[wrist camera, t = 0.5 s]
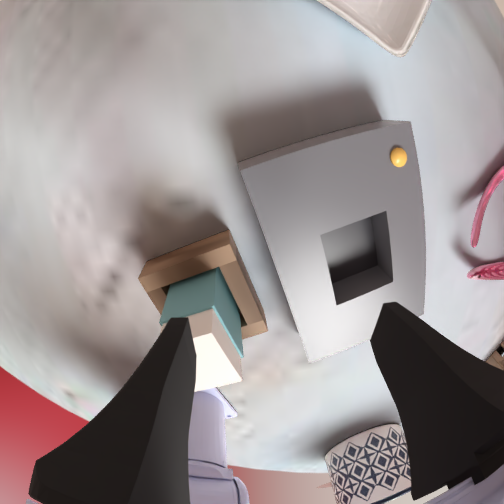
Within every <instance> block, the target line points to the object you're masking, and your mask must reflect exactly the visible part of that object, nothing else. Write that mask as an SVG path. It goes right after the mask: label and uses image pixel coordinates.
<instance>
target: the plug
mask: <svg viewBox="0 0 504 504" xmlns="http://www.w3.org/2000/svg"><path fill="white" fill-rule="evenodd" d="M171 317H188V318H189V323H190V328H191V333H192V337H193V342H194V346H195V351H196V355H197V358H196V383H195V390H194V392H196V391H201V390H206V389H210V388H215V387H219V386H223V385H228V384H232V383H236V382H239V381H242V369H241V358H243V357H244V356H243V345H242V334H241V322H240V310H239V307H238V305H237V303H236V301H235V299H234V297H233V294H232V292H231V290H230V288H229V286H228V284H227V282H226V280H225V278H224V276H223V274H222V272H221V269H220V267H217V268H214V269H211V270H208V271H205V272H203V273H200V274H197V275H194V276H192V277H189V278H186V279H183V280H180V281H178V282H175V283H172V284H170V288H169V291H168V294H167V298H166V301H165V304H164V308H163V311H162V315H161V318H160V322H159V323H160V324H161V326H162V328H161V332H162V331H163V329H164V327H165V326H166V324H167V322H168V321H169V319H170V318H171ZM161 332H160V334H161Z"/></svg>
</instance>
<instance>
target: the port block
mask: <svg viewBox="0 0 504 504" xmlns="http://www.w3.org/2000/svg"><path fill="white" fill-rule="evenodd" d="M238 167H239V170H240V173H241V175H242V178H243V181H244V183H245V186H246V188H247V191H248V194H249V196H250V199H251V202H252V204H253V207H254V210H255V213H256V215H257V218H258V221H259V223H260V226H261V229H262V231H263V234H264V237H265V240H266V242H267V245H268V248H269V251H270V253H271V256H272V259H273V262H274V264H275V267H276V270H277V273H278V275H279V278H280V281H281V284H282V287H283V289H284V292H285V295H286V298H287V301H288V303H289V306H290V309H291V312H292V315H293V318H294V321H295V323H296V326H297V329H298V332H299V335H300V338H301V341H302V343H303V346H304V349H305V352H306V355H307V358H308V361H309V363H312V362H315V361H318V360H321V359H323V358H326V357H329V356H331V355H334V354H337V353H339V352H342V351H344V350H347V349H349V348H352V347H354V346H356V345H359V344H361V343H364V342H366V341H368V340H370V339H371V337H372V334H373V331H374V328H375V326H376V323H377V320H378V317H379V314H380V311H381V308H382V305H383V303H389V302H397V303H399V304H401V305H402V306H404V307H405V308H406V309H408V310H409V311H411V312H412V313H413V314H415V315H416V316H417V317H418V316H420V315H422V314H424V300H425V279H426V241H425V220H424V206H423V196H422V186H421V178H420V171H419V164H418V158H417V152H416V147H415V141H414V136H413V131H412V127H411V122H409V121H393V120H380V121H376V122H372V123H367V124H363V125H359V126H355V127H351V128H347V129H343V130H339V131H335V132H332V133H328V134H324V135H321V136H317V137H314V138H311V139H307V140H304V141H301V142H297V143H294V144H291V145H288V146H285V147H281V148H278V149H275V150H272V151H269V152H266V153H263V154H261V155H258V156H255V157H252V158H249V159H246V160H244V161H241V162H238Z"/></svg>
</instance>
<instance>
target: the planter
mask: <svg viewBox="0 0 504 504" xmlns="http://www.w3.org/2000/svg"><path fill="white" fill-rule="evenodd" d="M325 461H326V465H327V469H328V472H329V476H330V480H331V484H332V487H333V491H334V495H335V498H336V503H337V504H384V503H386V502H389V501H391V500H393V499H396V498H398V497H400V496H402V495H404V494H406V493H408V492H410V491H411V474H410V463H409V456H408V449H407V444H406V439H405V435H404V432H403V430H402V428H401V427H400V426H399V425H397V424H387V425H382V426H378V427H375V428H372V429H369V430H366V431H363V432H361V433H359V434H356V435H354V436H352V437H350V438H348V439H346V440H344V441H342V442H341V443H339V444H338V445H336V446H335V447H333V448H332V449H331V450H330V451H329V452H328V453H327V454H326V456H325Z"/></svg>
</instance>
